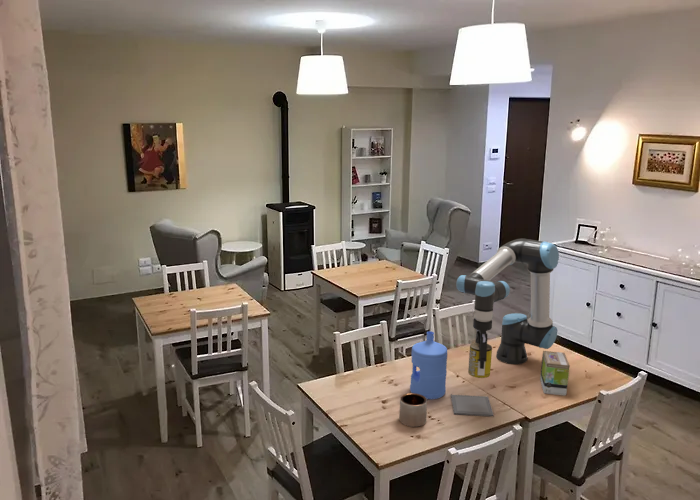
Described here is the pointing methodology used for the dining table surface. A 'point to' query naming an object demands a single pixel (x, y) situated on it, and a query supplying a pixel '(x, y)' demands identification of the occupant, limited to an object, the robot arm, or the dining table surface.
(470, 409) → the plate
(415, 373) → the water jug
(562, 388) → the tea box
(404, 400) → the planter
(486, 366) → the beverage can
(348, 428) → the dining table surface
